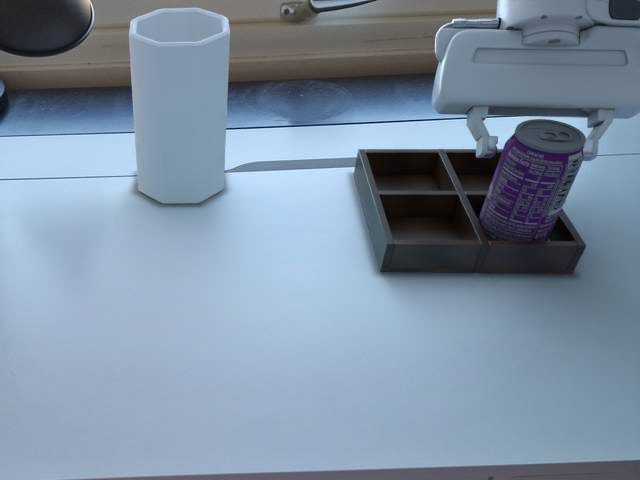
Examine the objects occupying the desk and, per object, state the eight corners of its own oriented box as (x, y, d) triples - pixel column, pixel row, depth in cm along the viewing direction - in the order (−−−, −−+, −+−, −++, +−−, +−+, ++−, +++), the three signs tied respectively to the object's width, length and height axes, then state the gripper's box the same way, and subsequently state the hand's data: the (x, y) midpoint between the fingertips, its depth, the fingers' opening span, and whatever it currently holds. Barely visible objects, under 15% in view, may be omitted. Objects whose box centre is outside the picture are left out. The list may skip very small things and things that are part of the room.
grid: (514, 175, 84) (524, 148, 82) (572, 273, 70) (586, 245, 68) (353, 175, 85) (358, 148, 83) (380, 271, 72) (387, 244, 69)
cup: (238, 168, 87) (247, 12, 74) (206, 214, 80) (210, 51, 67) (157, 152, 90) (152, 1, 77) (120, 195, 83) (107, 37, 70)
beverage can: (536, 222, 76) (581, 118, 67) (551, 261, 71) (600, 154, 62) (469, 217, 77) (504, 114, 68) (478, 255, 72) (518, 150, 63)
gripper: (446, 2, 67) (436, 145, 67) (672, 4, 64) (662, 151, 65) (428, 33, 73) (419, 163, 73) (633, 35, 71) (624, 170, 71)
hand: (535, 158), depth 69 cm, fingers open, 8 cm apart
